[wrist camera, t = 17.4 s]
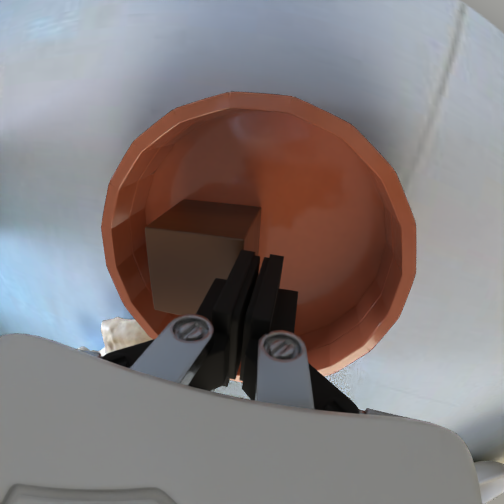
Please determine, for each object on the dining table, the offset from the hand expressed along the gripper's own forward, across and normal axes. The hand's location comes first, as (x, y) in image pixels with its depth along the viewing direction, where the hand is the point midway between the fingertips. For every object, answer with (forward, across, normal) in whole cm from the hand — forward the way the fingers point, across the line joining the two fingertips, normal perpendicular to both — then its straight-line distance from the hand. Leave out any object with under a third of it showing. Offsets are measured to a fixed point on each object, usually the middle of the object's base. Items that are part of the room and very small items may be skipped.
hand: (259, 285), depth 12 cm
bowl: (+6, +1, 0) cm, 6 cm away
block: (+5, +3, +1) cm, 6 cm away
